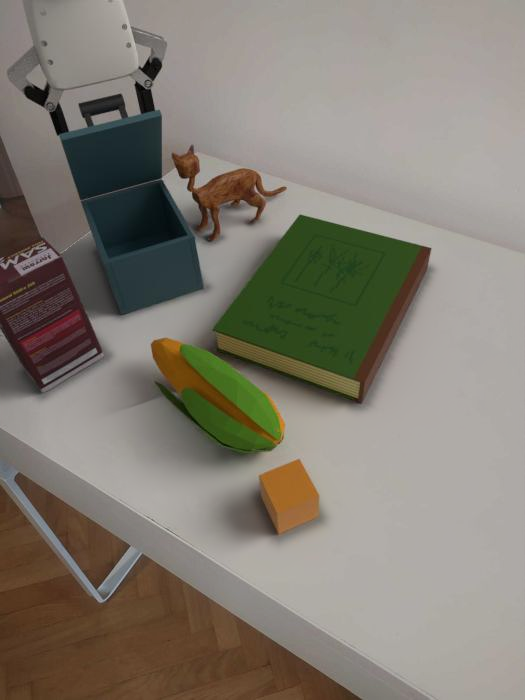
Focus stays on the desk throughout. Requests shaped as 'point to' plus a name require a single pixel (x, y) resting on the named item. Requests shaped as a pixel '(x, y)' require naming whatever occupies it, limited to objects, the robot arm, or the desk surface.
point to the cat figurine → (222, 189)
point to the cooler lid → (113, 149)
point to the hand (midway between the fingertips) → (108, 128)
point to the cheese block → (289, 496)
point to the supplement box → (45, 315)
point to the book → (325, 305)
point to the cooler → (144, 245)
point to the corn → (218, 398)
